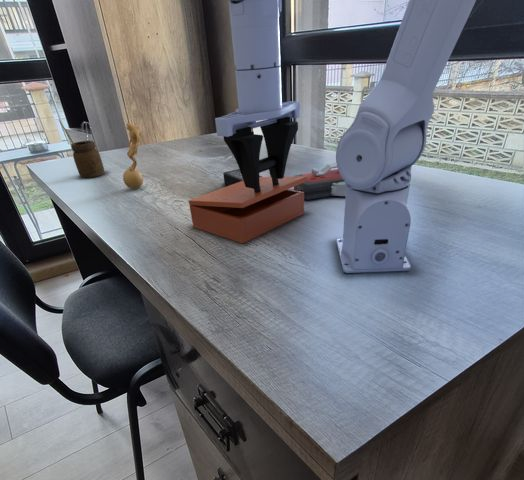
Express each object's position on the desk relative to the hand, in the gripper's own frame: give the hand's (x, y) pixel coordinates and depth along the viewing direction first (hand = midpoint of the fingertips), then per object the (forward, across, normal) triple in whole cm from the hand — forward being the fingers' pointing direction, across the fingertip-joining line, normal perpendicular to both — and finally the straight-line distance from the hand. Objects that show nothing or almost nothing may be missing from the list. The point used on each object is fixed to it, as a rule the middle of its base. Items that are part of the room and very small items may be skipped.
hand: (265, 182), depth 57 cm
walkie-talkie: (+7, -21, +1) cm, 22 cm away
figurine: (+6, -1, -37) cm, 38 cm away
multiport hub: (+7, -12, -17) cm, 22 cm away
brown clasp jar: (+6, 0, -58) cm, 58 cm away
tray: (+6, 0, -4) cm, 8 cm away
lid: (+2, 0, -4) cm, 4 cm away
